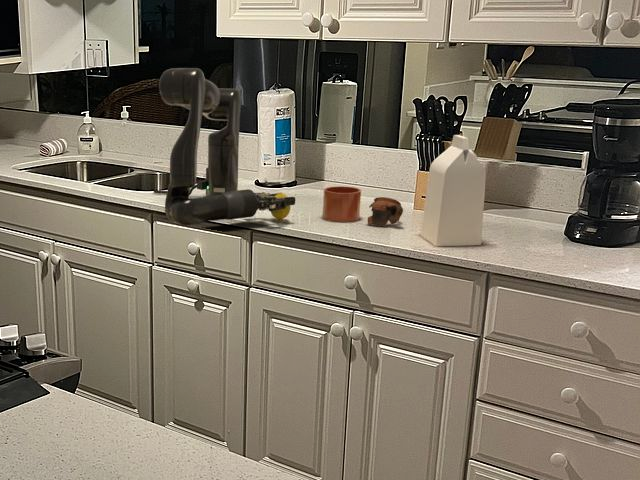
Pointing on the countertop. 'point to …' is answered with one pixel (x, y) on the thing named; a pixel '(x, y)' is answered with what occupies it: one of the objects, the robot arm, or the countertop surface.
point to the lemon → (283, 212)
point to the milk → (454, 197)
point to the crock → (341, 204)
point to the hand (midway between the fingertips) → (288, 198)
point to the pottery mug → (385, 211)
